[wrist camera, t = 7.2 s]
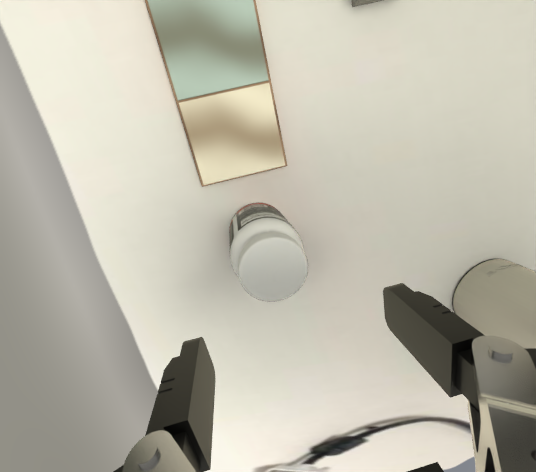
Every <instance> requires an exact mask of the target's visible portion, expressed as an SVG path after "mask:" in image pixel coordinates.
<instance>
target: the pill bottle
mask: <svg viewBox="0 0 536 472" xmlns="http://www.w3.org/2000/svg"><path fill="white" fill-rule="evenodd" d="M229 236H230V260H231V264H232V267H233V270H234V271H235V273H236V275H237V276H238V277H239V279H240V282H241V284H242V286H243V288H244V289H245V290H246V291H247V292H248V293H249V294H250V295H251V296H253V297H254V298H256V299H259V300H262V301H268V302H275V301H280V300H283V299H286V298H288V297H290V296H292V295H293V294H294V293H296V292H297V291H298V290H299V289H300V288H301V286H302V285H303V283H304V282H305V279H306V277H307V273H308V262H307V258H306V255H305V253H304V250H303V244H302V241H301V238H300V236H299V234H298V233H297V231H296V230H295V229H294V228H293V227H292V225H291V224H290V223H289V222H288V221H287V220H286V219H285V217H284V216H283V215H282V214H281V213H280V212H279V211H278V210H277V209H276V208H274V207H273V206H271V205H268V204H265V203H253V204H249V205H247V206H245V207H243V208H241V209H240V210H239V211H238V212H237V213H236V214H235V216H234V217H233V219H232V221H231V224H230V230H229Z"/></svg>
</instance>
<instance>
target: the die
mask: <svg viewBox="0 0 536 472" xmlns="http://www.w3.org/2000/svg"><path fill="white" fill-rule="evenodd" d="M378 1H382V0H352V7H355V6H360V5H364V4H369V3H373V2H378Z"/></svg>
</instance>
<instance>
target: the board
mask: <svg viewBox="0 0 536 472" xmlns="http://www.w3.org/2000/svg"><path fill="white" fill-rule="evenodd" d="M145 2H146V5H147V9H148V12H149V15H150V18H151V22H152V25H153V28H154V32H155V35H156V38H157V41H158V45H159V48H160V51H161V54H162V58H163V61H164V64H165V67H166V71H167V74H168V77H169V80H170V84H171V87H172V90H173V94H174V97H175V100H176V103H177V107H178V110H179V113H180V116H181V120H182V123H183V126H184V129H185V133H186V136H187V139H188V142H189V146H190V149H191V152H192V156H193V159H194V162H195V165H196V169H197V172H198V175H199V178H200V182H201V185H202V187H203V186H207V185H211V184H215V183H219V182H223V181H227V180H231V179H235V178H240V177H244V176H248V175H252V174H256V173H260V172H264V171H268V170H272V169H276V168H281V167H285V166H287V162H286V157H285V152H284V147H283V142H282V136H281V131H280V126H279V121H278V116H277V110H276V105H275V100H274V95H273V90H272V84H271V79H270V74H269V69H268V64H267V58H266V53H265V48H264V43H263V38H262V32H261V27H260V22H259V17H258V12H257V6H256V1H255V0H145Z"/></svg>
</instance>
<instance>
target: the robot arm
mask: <svg viewBox="0 0 536 472" xmlns="http://www.w3.org/2000/svg"><path fill="white" fill-rule="evenodd" d="M383 295H384V310H385V319H386V322H387V325H388V327H389V329H390V330H391V331H392V333H393V334H394V335H395V336H396V337H397V338H398V339H399V340H400V342H401V343H402V344H403V345H404V346H405V347H406V348H407V349H408V351H409V352H410V353H411V354H412V355H413V356H414V357H415V358H416V360H417V361H418V362H419V363H420V364H421V365H422V366H423V367H424V369H425V370H426V371H427V372H428V373H429V374H430V375H431V376H432V378H433V379H434V380H435V381H436V382H437V383H438V384H439V385H440V386H441V388H442V389H443V390H444V391H445V392H446V393H447V394H448V395H449V397H453V396H457V395H460V394H463V395H464V396H465V397H466V398H467V399H468V412H469V420H470V427H471V434H472V441H473V449H474V456H475V465H476V472H536V271H533V270H531V269H528V268H526V267H523V266H521V265H518V264H515V263H513V262H510V261H507V260H504V259H493V260H488V261H486V262H483V263H481V264H479V265H477V266H476V267H474V268H473V269H472V270H470V271H469V272H468V273H467V274H466V275H465V276H464V277H463V279H462V280H461V282H460V283H459V285H458V286H457V289H456V291H455V294H454V298H453V307H454V311H455V313H456V314H455V313H454V312H451V311H450V310H449V309H448V308H447V307H445V306H442V304H441V303H440V302H438V301H437V300H436V299H434V298H433V297H432V296H429V295H426V294H424V293H421V292H419V291H417V292H414V291H412V290H411V289H410V288H408V287H407V286H406V285H404V284H402V283H400V284H397V285H393V286H389V287H386V288H384V290H383ZM214 395H215V371H214V366H213V363H212V360H211V358H210V355H209V352H208V350H207V347H206V344H205V341H204V339H203V338H202V337H200V338H196V339H192V340H188V341H185V342H183V345H182V349H181V353H180V356H179V357H175V358H172V360H171V361H170V363H169V364H168V365H167V367H166V368H165V370H164V373H163V377H162V380H161V384H160V387H159V390H158V395H157V398H156V401H155V405H154V408H153V411H152V415H151V418H150V421H149V425H148V429H147V432H146V435H145V437H143V438H142V439H141V440H140V441H139V442H138V443H137V444H136V445H135V446H134V447H133V448H132V450H131V451H130V453H129V454H128V456H127V458H126V460H125V463H124V465H123V466H121V467H120V468H118V469H117V470H115V471H114V472H204V471H207V470H210V465H211V448H212V430H213V412H214ZM408 472H444V471H443V470H442V468H441V467H440V465H439V464H438V462H436V463H433V464H430V465H427V466H424V467H420V468H417V469H414V470H411V471H408Z"/></svg>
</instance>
